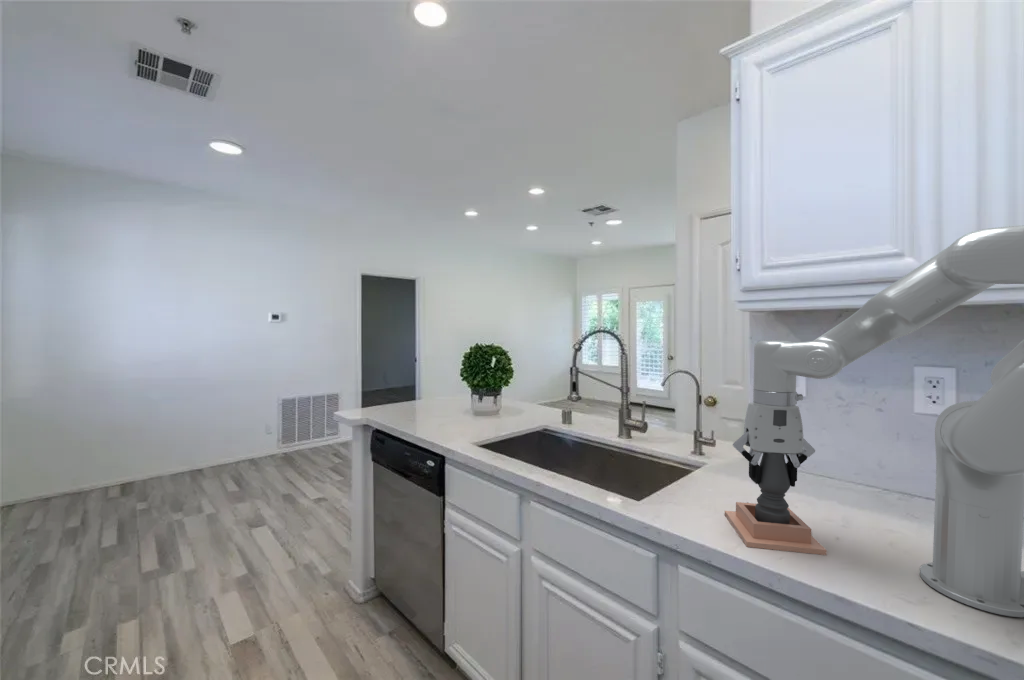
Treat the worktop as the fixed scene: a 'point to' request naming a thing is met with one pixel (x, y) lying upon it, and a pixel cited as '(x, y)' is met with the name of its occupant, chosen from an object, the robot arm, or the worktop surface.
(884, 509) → the worktop surface
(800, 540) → the square tray
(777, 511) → the candle holder
